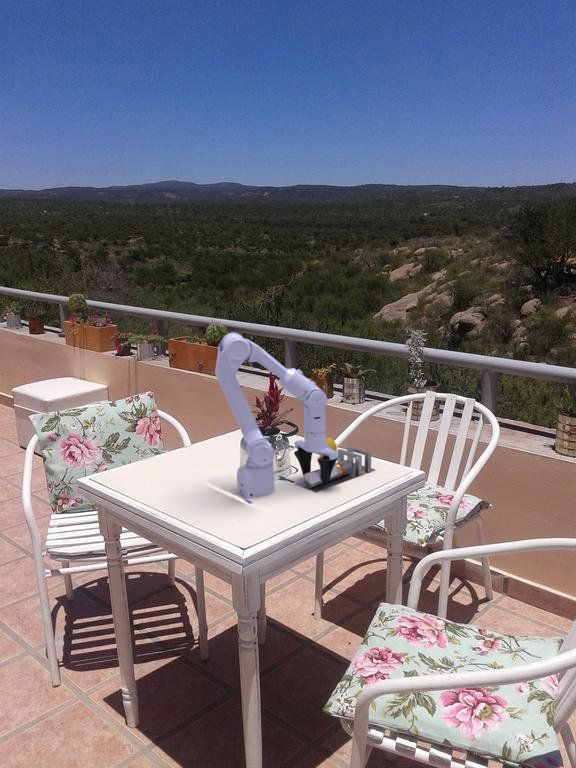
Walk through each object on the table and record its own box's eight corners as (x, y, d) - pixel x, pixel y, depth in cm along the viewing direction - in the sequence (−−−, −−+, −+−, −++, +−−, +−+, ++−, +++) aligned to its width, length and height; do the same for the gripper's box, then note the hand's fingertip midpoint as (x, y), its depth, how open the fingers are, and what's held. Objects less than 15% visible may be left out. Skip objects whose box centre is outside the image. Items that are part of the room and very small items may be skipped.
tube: (313, 490, 176) (314, 476, 175) (302, 484, 179) (303, 471, 177) (351, 475, 185) (352, 462, 184) (341, 470, 188) (342, 457, 187)
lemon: (337, 465, 197) (337, 439, 196) (319, 465, 197) (318, 440, 196) (336, 459, 203) (336, 434, 201) (318, 459, 203) (318, 434, 201)
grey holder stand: (316, 496, 174) (315, 471, 172) (294, 488, 180) (293, 464, 179) (376, 473, 189) (376, 450, 187) (354, 466, 195) (354, 444, 194)
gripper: (344, 432, 173) (345, 481, 176) (307, 422, 184) (308, 468, 187) (325, 438, 169) (326, 488, 171) (288, 427, 179) (290, 474, 182)
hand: (316, 478), depth 179 cm, fingers open, 7 cm apart
